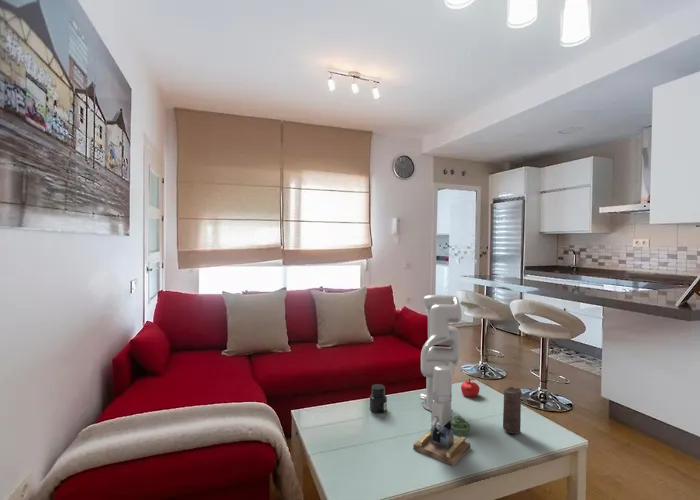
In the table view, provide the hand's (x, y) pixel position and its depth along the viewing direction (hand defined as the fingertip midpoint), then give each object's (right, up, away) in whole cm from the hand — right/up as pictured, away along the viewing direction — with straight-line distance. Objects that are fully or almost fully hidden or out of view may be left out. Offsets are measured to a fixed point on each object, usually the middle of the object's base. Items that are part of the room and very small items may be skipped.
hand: (442, 436), depth 152 cm
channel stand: (0, -5, 0) cm, 5 cm away
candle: (+35, -5, +13) cm, 38 cm away
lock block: (0, -3, 0) cm, 3 cm away
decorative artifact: (+12, -5, +15) cm, 20 cm away
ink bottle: (-24, -4, +35) cm, 43 cm away
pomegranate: (+29, -4, +53) cm, 60 cm away
